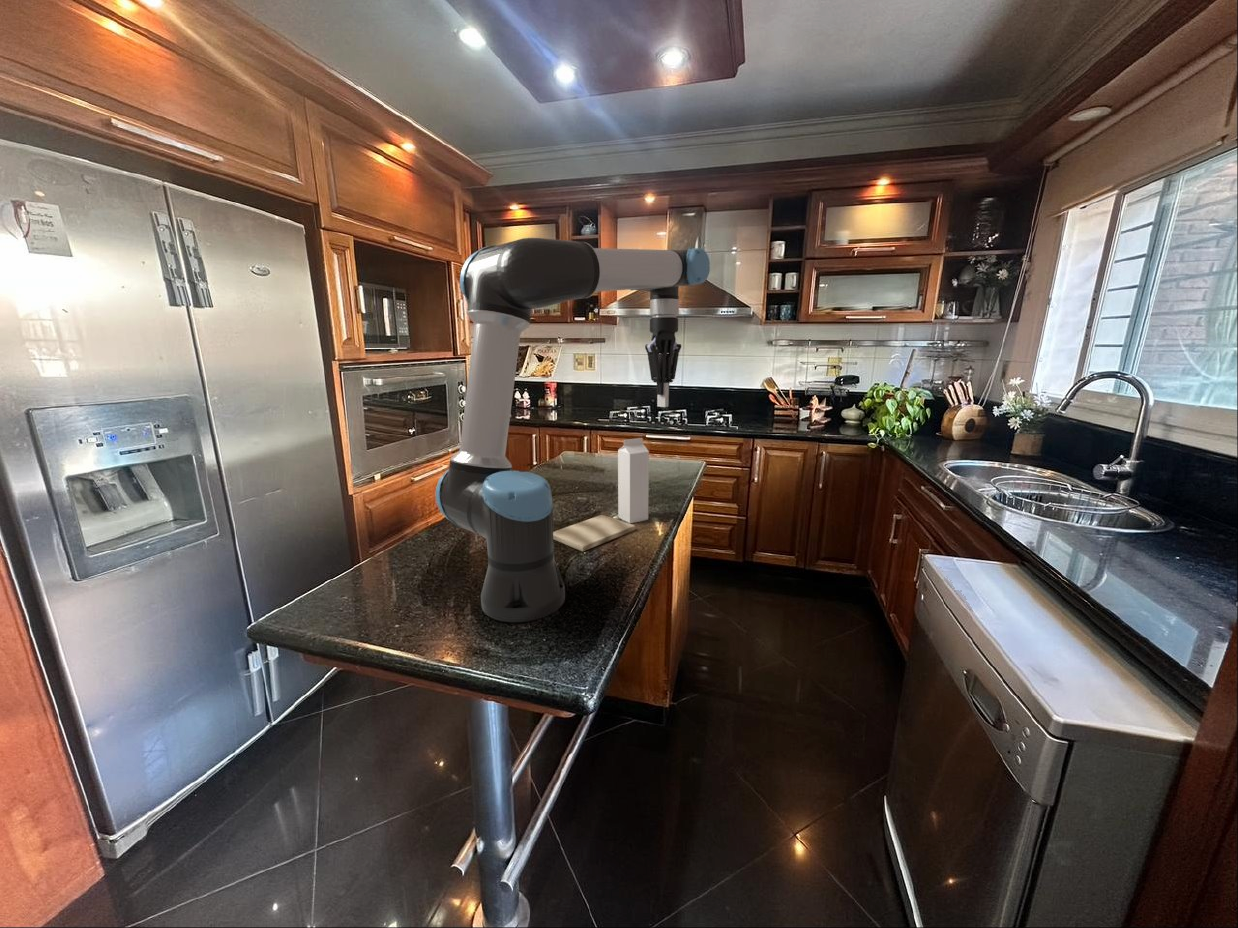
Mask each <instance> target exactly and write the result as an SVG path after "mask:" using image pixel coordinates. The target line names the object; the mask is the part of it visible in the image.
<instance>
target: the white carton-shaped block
mask: <svg viewBox="0 0 1238 928" xmlns="http://www.w3.org/2000/svg"><path fill="white" fill-rule="evenodd" d="M649 461H650V450H648V448H647V447H646V445H644V438H642V437H637V438H630V439H623V446H621V447H620V448H618V450H617V480H618V481H617V485H618V488H617V494H618V495H617V497H618V499H617V501H618V502H617V509H618V510H617V513H618V516H617V517H618V518H619V519H621V520H622V521H624V522H626V523H629V524H634V523H639V522H643V521H647V520H649V493H650V491H649V487H650V485H649V483H650V482H649V481H650V480H649V477H650V476H649V474H650V470H649V469H650V465H649V464H650V462H649Z"/></svg>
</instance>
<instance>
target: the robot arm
mask: <svg viewBox="0 0 1238 928" xmlns="http://www.w3.org/2000/svg"><path fill="white" fill-rule="evenodd" d="M710 263H711V262H710V258H709V255H708V253H707V252H706V250H705V249H703V248H700V247H694V248H692V247H690V248H688V249H647V248H646V249H645V248H644V249H641V248H606V247H605V248H603V247H602V248H600V247H593V246H592V245H591V244H590V243H588V242H586V241H575V240H574V241H573V240H564V239H557V238H556V239H553V238H546V237H545V238H543V237H524V238H520V239H516V240H513V241H508V242H505V243H501V244H497V245H496V244H495V245H494V244H493V245H488V246H485V247H482V248H480V249H478V250H477V251H475V252H474V253H472V254H471V255H470V256H469V257H468V258H466V260H465V262H464V264H463V266H462V267H461V271H460V277H459V282H460V283H459V284H460V290H461V293H462V295H464V298H465V302H466V303H467V316H468V317H469V319H470V321H471V322H472V323H473V326H474V327H473V336H472V345H471V352H470V359H469V368H468V377H467V385H466V386H467V387H466V393H465V402H464V412H463V419H462V428H461V435H460V436H461V438H460V445H459V450H458V452H456V453H455V454H453V456H451V457H450V459H449V464H448V465H449V466H448V469H447V470H446V471H445V472H444V474H443V475H441V476H440V477H439V479H438V482H437V484H436V487H435V502H436V505H437V508H438V510H439V512H440V514H442V516H443V517H444V518H446V519H447V520H448V521H450V522H451V523H452V524H453V525H454V526H456V527H459V528H461V529H465V530H466V531H469V532H471V533H474V534H476V535H479V536H480V537H482V538H484V539H485V540H486V547H487V562H488V563H487V564H488V565H487V568H486V569H487V570H486V574H485V577H484V582H483V584H482V585H483V586H482V588H481V592H480V603H481V604H480V605H481V609H482V611H483V613H484V614H485V615H486V616H487V617H489V618H491V619H492V620H496V621H499V622H505V623H526V622H532V621H536V620H541V619H542V618H546V617H548V616H550V615H552V614H553V613H555V612H556V611H558V610H559V609H560V608H562V606H563V604H564V603H565V600H566V589H565V588H566V587H565V582H564V580H563V577H562V575H561V573H560V570H559V568H558V565H557V563H556V560H555V547H554V546H555V545H554V539H553V532H554V516H553V515H554V514H553V513H554V512H553V510H554V507H553V506H554V500H553V497H552V491H551V486H550V484H549V482H548V481H547V480H546V478H544V477H543V476H541V475H539V474H536V473H534V472H530V471H519V470H512V467H513V464H512V463H511V462H510V461H509V459H508V458H507V456H506V452H507V444H508V435H509V429H510V421H511V419H510V418H511V410H512V405H513V396H514V390H515V389H514V388H515V382H516V381H515V380H516V372H517V363H518V358H519V357H518V355H519V348H520V340H521V334H522V333H523V332H524V331H525V330H527V328H530V325H531V316H532V311H533V310H537V309H541V308H545V307H550V306H553V305H557V304H561V303H566V302H569V301H573V300H583V299H589V298H590V297H592V296H593V295H594V294H595V293H600V292H615V291H626V290H627V291H638V292H639V291H640V292H641V291H642V292H649V300H650V302H649V307H650V309H649V316H650V317H651V318H650V319H649V332H650V333H652V336H651V342H649V344H645V345H644V348H645V351H646V353H647V359H648V366H649V367H648V368H649V372H650V373H649V374H650V378H651V379H650V380H651V381H653V383H656V395H657V397H656V399H657V400H656V403H657V405H656V406H657V407H660V408H668V407H669V401H670V400H669V397H670V396H669V395H670V383H673V382H674V380H675V379H676V373H677V366H678V361H679V354H680V351H681V349H682V344H681V343H677V339H676V333H678V332H679V318H678V317H677V316H679V314H680V309H679V308H680V306H679V305H680V300H679V297H680V295H679V291H680V290H679V289H680V287H687V286H696V285H701V284H703V283H704V282H706V281H707V279H708V277H709V275H710V271H711V270H710V269H711V266H710V265H711V264H710Z"/></svg>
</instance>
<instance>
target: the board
mask: <svg viewBox="0 0 1238 928" xmlns="http://www.w3.org/2000/svg"><path fill="white" fill-rule="evenodd" d="M635 530H636V525H635V524H633V523H628V522H626V521H624V520H620V519H617V518H613V517H610V516H607V515H604V514H600V515H597V516H593V517H591V518H589V519H586V520H583V521H580V522H577V523H574V524H571V525H568V526H566V527H563V528H560V529H557V530H555V531H554V530H553V541H554V540H555V542H559V543H560V544H561V543H562V544H564V545H566V546H569V547H571V548H573V549H576V550H578V551H581V552H586V551H587V550H590V549H592V548H595V547H598V546H599V545H602V544H605V543H606V542H607V543H608V542H609V541H611V540H613V539H616V538H619V537H622V536H624V535H626V534H629V533H630V532H633V531H635Z"/></svg>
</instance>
